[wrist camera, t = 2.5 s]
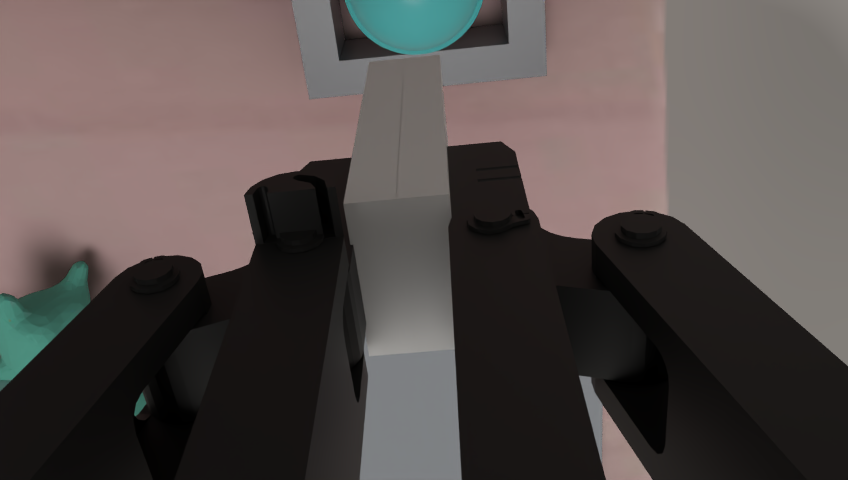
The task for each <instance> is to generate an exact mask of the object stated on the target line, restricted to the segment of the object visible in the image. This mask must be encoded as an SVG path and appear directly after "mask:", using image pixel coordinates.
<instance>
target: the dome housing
mask: <svg viewBox="0 0 848 480" xmlns="http://www.w3.org/2000/svg"><path fill="white" fill-rule="evenodd" d="M501 4H502V23H503V24H500V25H490V26H480V27H471V28H469V29H468V30H467V31H466V32H465V33H464V34H463V35H462V36H461V37H460V38H459V39H458V40H456V41H455V42H454V43H452V44H450V45H449V46H447V47H445V48H443V49H441V50H438V51H435V52H432V53H427V54H420V55H409V54H401V53H397V52H393V51H390V50H388V49H385V48H383V47H381V46H380V45H378V44H376V43H375V42H373V41H372V40H371V39H369V38H363V39H353V40H345V37H344V30H343V24H342V17H341V11H340V4H339V0H292V6H293V11H294V17H295V22H296V28H297V33H298V39H299V44H300V50H301V55H302V61H303V67H304V72H305V78H306V83H307V89H308V94H309V99H316V98H327V97H337V96H347V95H357V94H363V93H364V88H365V82H366V77H367V71H368V66H369V62H372V61H382V60H392V59H402V58H412V57H422V56H432V55H440V63H441V73H442V84H443V86H448V85H458V84H468V83H478V82H488V81H499V80H509V79H519V78H529V77H539V76H547V63H546V26H545V0H501Z"/></svg>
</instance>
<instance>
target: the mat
mask: <svg viewBox="0 0 848 480" xmlns="http://www.w3.org/2000/svg"><path fill="white" fill-rule="evenodd" d="M364 355H365V361H366V366H367V372H368V386H367V398H366V410H365V422H364V433H363V445H362V457H361V469H360V480H462V478H461V459H460V440H459V422H458V403H457V384H456V365H455V349H452V350H440V351H428V352H416V353H404V354H391V355H379V356H369V352H368V346H367V340H366V334H365V343H364ZM579 378H580V382H581V385H582V389H583V393H584V397H585V401H586V405H587V409H588V413H589V416H590V420H591V424H592V428H593V432H594V436H595V440H596V444H597V447H598V451H599V455H600V459H601V463H602V403H601V401H600V400H599V398H598V397H597V395H596V394H595V392H594V389H593V386H592V383H591V377H586V376H579Z"/></svg>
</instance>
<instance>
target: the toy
mask: <svg viewBox="0 0 848 480" xmlns="http://www.w3.org/2000/svg"><path fill="white" fill-rule="evenodd" d="M87 279H88V265H87V264H86V263H85V262H84V261H78V262H76V263H75V264H73V266H72V267H71V269H70V271H69V272H68V274H67V276H66V277H65V278H64V279H63V280H62V281H61V282H60V283H59V284H57V285H55V286H53V287H51V288H48V289H45V290H41V291H38V292H34V293H31V294H28V295H26V296H24V297H21V298H19V299H17V298H15V297H14V296H12V295H9V294H5V293H2V294H0V391H1V390H2V389H3V388H4V387H5V386H6V385H7V384H8V383H9V382H10V381H11V380H12V379H13V378H14V377H15V376H16V375H17V374H18V373H19V372H20V371H21V370H22V369H23V368H24V367H25V366H26V365H27V364H28V363H29V362H30V361H31V360H32V359H33V358H34V357H35V356H36V355H37V354H38V353H39V352H40V351H41V350H42V349H43V348H44V347H45V346H46V345H48V344H49V343H50V342H51V341H52V340H53V339H54V338H55V337H56V336H57V335H58V334H59V333H60V332H61V331H62V330H63V329H64V328H65V327H66V326H67V325H68V324H69V323H70V322H71V321H72V320H73V319H74V318H75V317H76V316H77V315H78V314H79V313H80V312H81V311H82V310H83V309H84V308H85V307H86V306H87V305H88V304H89V303H90V294H89V289H88V283H87ZM146 404H147V403H146V401H145V398H144V395H143V392H142V393H141V395H140V397H139V399H138V401H137V403H136V407H135V413H134V415H135V416H136V415H138V414H139V413H140V411H141V410H142V409H143V407H144V406H145V405H146Z"/></svg>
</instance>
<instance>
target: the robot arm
mask: <svg viewBox="0 0 848 480" xmlns="http://www.w3.org/2000/svg"><path fill="white" fill-rule="evenodd" d="M244 197H245V202H246V206H247V210H248V214H249V219H250V223H251V227H252V231H253V235H254V240H255V244H256V246H255V249H254V251H253V254H252V257H251V260H250V263H249V264H248V265H246V266H244V267H241V268H238V269H235V270H232V271H229V272H226V273H222V274H218V275H214V276H210V277H207V278H205V277H204V274H203V270H202V266H201V263H199V262H198V261H196V260H195V259H193V258H191V257H185V256H180V255H175V256H157V257H154V259H152V258H149V259H146V260H143V261H141V262H140V263H138V264H136V265H134V266H132V267H129V268H127V269H126V270H125V271H123V272H122V273H121V274H119V275H118V276H117V277H115V278H114V279H113V280H112V281H111V282H110V283H109V284H108V285H107V286H106V287H105V288H104V289H103V290H102V291H101V292H100V293H99V294H98V295H97V296H96V297H95V298H94V299H93V300H92V301H91V302H90V303H89V304H88V305H87V306H86V307H85V308H84V309H83V310H82V311H81V312H80V313H79V314H78V315H77V316H76V317H75V318H74V319H73V320H72V321H71V322H70V323H69V324H68V325H67V326H66V327H65V328H64V329H63V330H62V331H61V332H60V333H59V334H58V335H57V336H56V337H55V338H54V339H53V340H52V341H51V342H50V343H49V344H48V345H46V346H45V347H44V348H43V349H42V350H41V351H40V352H39V353H38V354H37V355H36V356H35V357H34V358H33V359H32V360H31V361H30V362H29V363H28V364H27V365H26V366H25V367H24V368H23V369H22V370H21V371H20V372H19V373H18V374H17V375H16V376H15V377H14V378H13V379H12V380H11V381H10V382H9V383H8V384H7V385H6V386H5V387H4V388H3V389H2V390H1V391H0V480H360V469H361V457H362V445H363V433H364V422H365V410H366V398H367V386H368V372H367V366H366V361H365V355H364V343H365V334H366V340H367V346H368V352H369V356H379V355H391V354H404V353H416V352H428V351H440V350H452V349H455V365H456V384H457V403H458V422H459V440H460V459H461V478H462V480H606V478H605V475H604V471H603V467H602V463H601V459H600V455H599V451H598V447H597V444H596V440H595V436H594V432H593V428H592V424H591V420H590V416H589V413H588V409H587V405H586V401H585V397H584V393H583V389H582V385H581V382H580V378H579V376H586V377H591V383H592V386H593V389H594V392H595V394H596V395H597V397H598V398H599V400H600V401H601V403H602V404H603V406H604V407H605V409H606V410H607V412H608V413H609V415H610V416H611V418H612V419H613V421H614V422H615V424H616V425H617V427H618V428H619V430H620V431H621V433H622V434H623V436H624V437H625V439H626V440H627V442H628V443H629V445H630V446H631V448H632V449H633V451H634V452H635V454H636V455H637V457H638V458H639V460H640V461H641V463H642V464H643V466H644V467H645V469H646V470H647V472H648V473H649V475H650V476H651V478H652V479H653V480H848V366H847V365H846V364H845V363H843V362H842V361H841V360H840V359H839V358H838V357H837V356H836V355H834V354H833V353H832V352H831V351H830V350H829V349H827V348H826V347H825V346H824V345H823V344H822V343H821V342H819V341H818V340H817V339H816V338H815V337H814V336H813V335H811V334H810V333H809V332H808V331H807V330H806V329H805V328H803V327H802V326H801V325H800V324H799V323H798V322H796V321H795V320H794V319H793V318H792V317H791V316H790V315H788V314H787V313H786V312H785V311H784V310H783V309H782V308H780V307H779V306H778V305H777V304H776V303H775V302H773V301H772V300H771V299H770V298H769V297H768V296H767V295H765V294H764V293H763V292H762V291H761V290H760V289H759V288H757V287H756V286H755V285H754V284H753V283H752V282H750V281H749V280H748V279H747V278H746V277H745V276H744V275H743V274H741V273H740V272H739V271H738V270H737V269H736V268H734V267H733V266H732V265H731V264H730V263H729V262H728V261H726V260H725V259H724V258H723V257H722V256H721V255H720V254H718V253H717V252H716V251H715V250H714V249H713V248H711V247H710V246H709V245H708V244H707V243H706V242H705V241H703V240H702V239H701V238H700V237H699V236H698V235H697V234H696V233H694V232H693V231H692V230H691V229H690V228H689V227H688V226H686V225H685V224H684V223H682V222H680V221H679V220H677V219H675V218H673V217H671V216H667V215H664V214H660V213H657V212H654V211H645V212H644V211H643V210H634V211H631V212H623V213H618V214H615V215H612V216H609V217H606V218H604V219H603V220H601V221H600V222H599V223H597V224H596V225H595V226H594V229H593V232H592V240H590V239H579V238H571V237H564V236H560V235H556V234H553V233H550V232H548V231H546V230H544V229H542V228H541V226H540V223H539V219H538V217H537V216H536V214H535V213H534V212H533V211H532V210H530V209H529V206H528V202H527V198H526V194H525V189H524V185H523V181H522V178H521V173H520V169H519V167H518V161H517V157H516V153H515V151H513V150H512V149H511V148H509V147H508V146H506V145H505V144H504V143H502V142H501V141H500V142H490V143H479V144H469V145H458V146H448V138H447V127H446V116H445V106H444V95H443V84H442V73H441V63H440V55H432V56H422V57H412V58H402V59H392V60H382V61H372V62H369V66H368V71H367V77H366V82H365V88H364V93H363V99H362V104H361V110H360V115H359V121H358V126H357V132H356V137H355V143H354V148H353V154H352V158H343V159H333V160H322V161H312V162H309V163H308V164H307V165H306V166H305V167H304V168H303V169H302V170H300V171H295V172H290V173H284V174H278V175H275V176H273V177H270V178H267V179H264V180H262V181H260V182H258V183H257V184H255V185H253V186H252V187H250V189H249V190H248V191H247V192H246V193H245V195H244ZM142 392H143V395H144V398H145V401H146V403H147V404H146V405H145V406H144V407H143V409H142V410H141V411H140V413H139V414H138V415H136V416H135V415H134V413H135V407H136V403H137V401H138V399H139V397H140V395H141V393H142Z"/></svg>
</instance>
